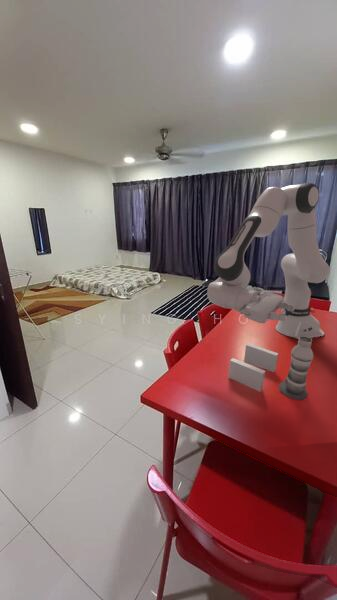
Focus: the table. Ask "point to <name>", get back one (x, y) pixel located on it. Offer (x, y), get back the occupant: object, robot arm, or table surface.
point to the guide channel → (250, 373)
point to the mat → (292, 395)
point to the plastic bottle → (299, 366)
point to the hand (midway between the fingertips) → (290, 313)
